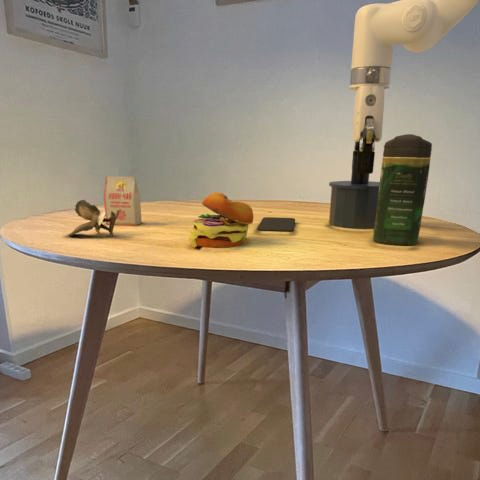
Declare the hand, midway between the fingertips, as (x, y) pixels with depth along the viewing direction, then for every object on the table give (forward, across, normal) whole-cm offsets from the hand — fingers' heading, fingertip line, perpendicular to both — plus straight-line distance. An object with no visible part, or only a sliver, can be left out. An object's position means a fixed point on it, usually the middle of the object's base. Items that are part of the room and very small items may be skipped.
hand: (361, 171), depth 97 cm
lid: (+3, 0, 0) cm, 3 cm away
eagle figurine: (+11, -18, +52) cm, 56 cm away
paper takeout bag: (+11, -4, +51) cm, 53 cm away
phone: (+11, -4, +17) cm, 21 cm away
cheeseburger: (+12, -23, +26) cm, 37 cm away
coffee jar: (+12, -17, -5) cm, 21 cm away
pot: (+11, 0, 0) cm, 11 cm away
